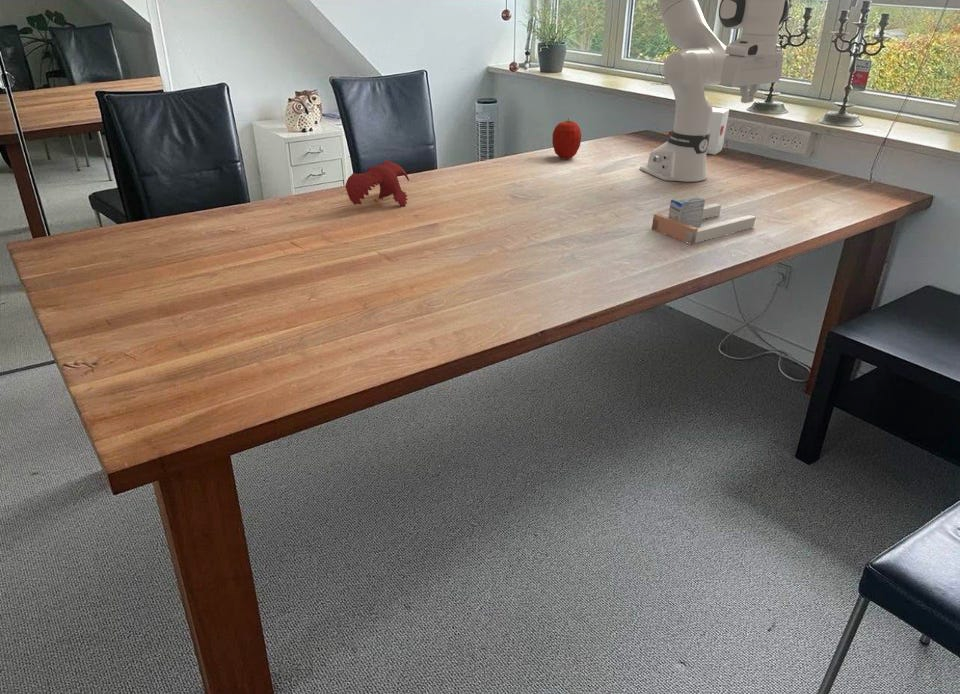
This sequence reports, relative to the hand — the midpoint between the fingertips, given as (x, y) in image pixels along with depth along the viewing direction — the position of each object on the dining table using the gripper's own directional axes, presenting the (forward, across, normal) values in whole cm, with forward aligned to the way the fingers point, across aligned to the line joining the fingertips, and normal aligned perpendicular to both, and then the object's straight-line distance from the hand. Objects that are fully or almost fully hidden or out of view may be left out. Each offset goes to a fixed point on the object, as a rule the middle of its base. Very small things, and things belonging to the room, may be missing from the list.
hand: (746, 102), depth 187 cm
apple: (+29, +4, -68) cm, 74 cm away
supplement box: (+29, -49, -50) cm, 76 cm away
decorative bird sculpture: (+29, +81, -54) cm, 102 cm away
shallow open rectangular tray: (+29, +19, +8) cm, 36 cm away
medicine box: (+29, +25, +7) cm, 39 cm away
